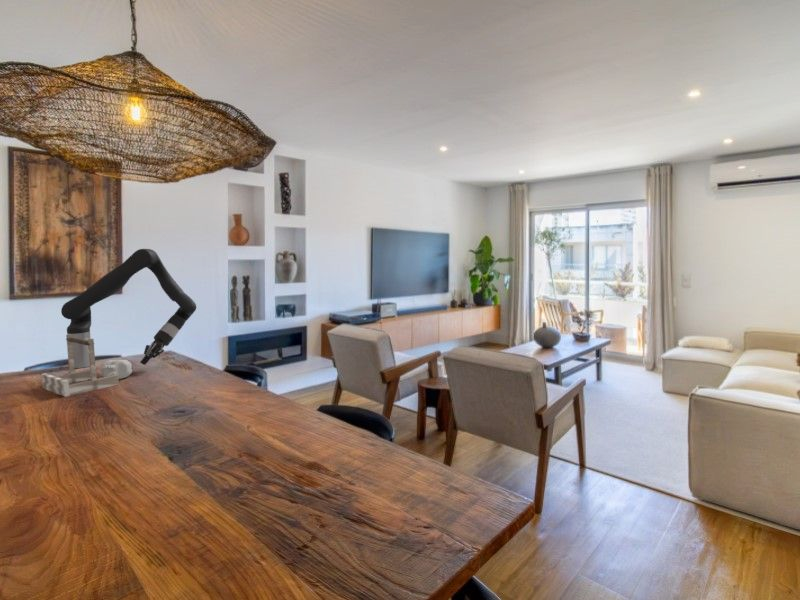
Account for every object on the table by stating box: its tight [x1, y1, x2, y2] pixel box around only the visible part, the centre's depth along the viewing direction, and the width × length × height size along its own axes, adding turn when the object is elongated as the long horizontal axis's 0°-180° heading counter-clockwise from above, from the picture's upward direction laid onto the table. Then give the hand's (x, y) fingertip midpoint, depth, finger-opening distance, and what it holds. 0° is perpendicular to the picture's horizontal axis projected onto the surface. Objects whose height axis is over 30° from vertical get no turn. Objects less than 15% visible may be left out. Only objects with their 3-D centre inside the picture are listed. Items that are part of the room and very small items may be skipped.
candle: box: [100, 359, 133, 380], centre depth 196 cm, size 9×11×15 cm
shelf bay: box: [41, 334, 120, 398], centre depth 183 cm, size 22×20×21 cm
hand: (142, 363), depth 205 cm, fingers closed
